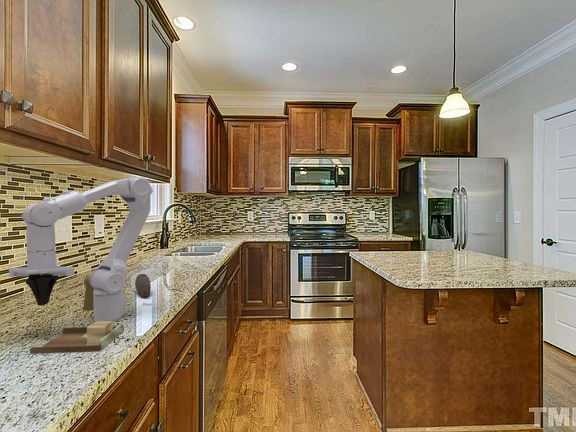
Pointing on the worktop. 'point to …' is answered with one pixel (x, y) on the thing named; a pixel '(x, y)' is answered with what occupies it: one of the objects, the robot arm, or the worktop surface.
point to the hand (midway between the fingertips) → (43, 304)
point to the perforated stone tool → (143, 285)
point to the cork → (88, 295)
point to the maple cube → (98, 331)
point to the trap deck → (76, 341)
